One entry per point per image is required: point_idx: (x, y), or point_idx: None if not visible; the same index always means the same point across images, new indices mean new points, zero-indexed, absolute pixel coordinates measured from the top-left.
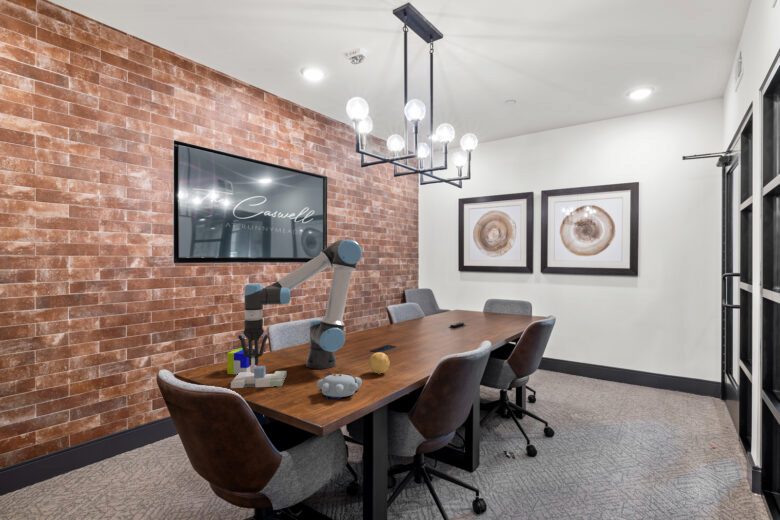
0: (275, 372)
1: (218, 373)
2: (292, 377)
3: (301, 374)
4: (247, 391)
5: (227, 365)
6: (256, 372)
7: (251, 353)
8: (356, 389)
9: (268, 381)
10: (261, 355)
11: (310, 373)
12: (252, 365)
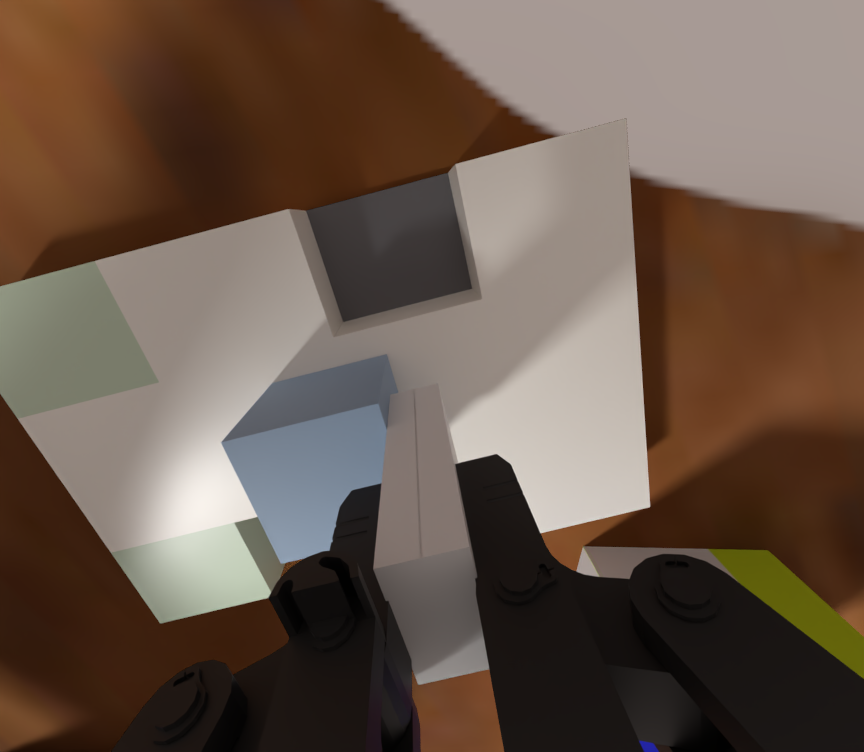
0: (248, 564)
1: (849, 546)
2: (110, 557)
3: (85, 635)
4: (320, 31)
5: (843, 619)
6: (350, 387)
7: (502, 728)
8: None
9: (117, 255)
10: (147, 703)
11: (22, 667)
12: (423, 445)
